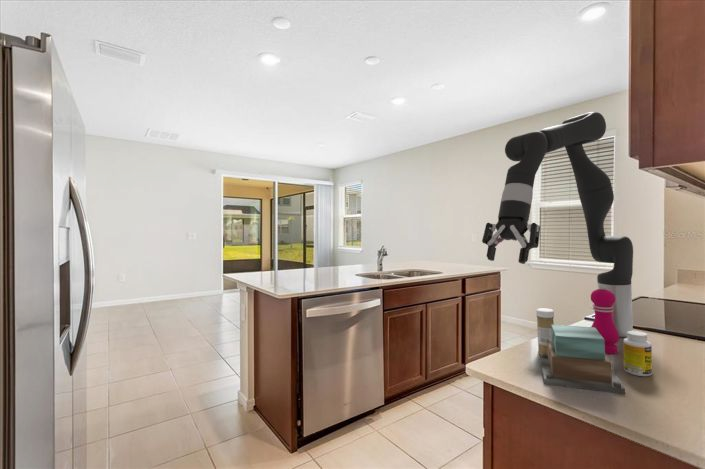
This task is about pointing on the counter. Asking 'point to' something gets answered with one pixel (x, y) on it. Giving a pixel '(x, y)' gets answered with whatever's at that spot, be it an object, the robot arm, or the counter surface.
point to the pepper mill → (605, 317)
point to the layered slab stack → (579, 360)
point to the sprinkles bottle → (544, 328)
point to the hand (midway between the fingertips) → (505, 261)
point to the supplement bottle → (637, 354)
